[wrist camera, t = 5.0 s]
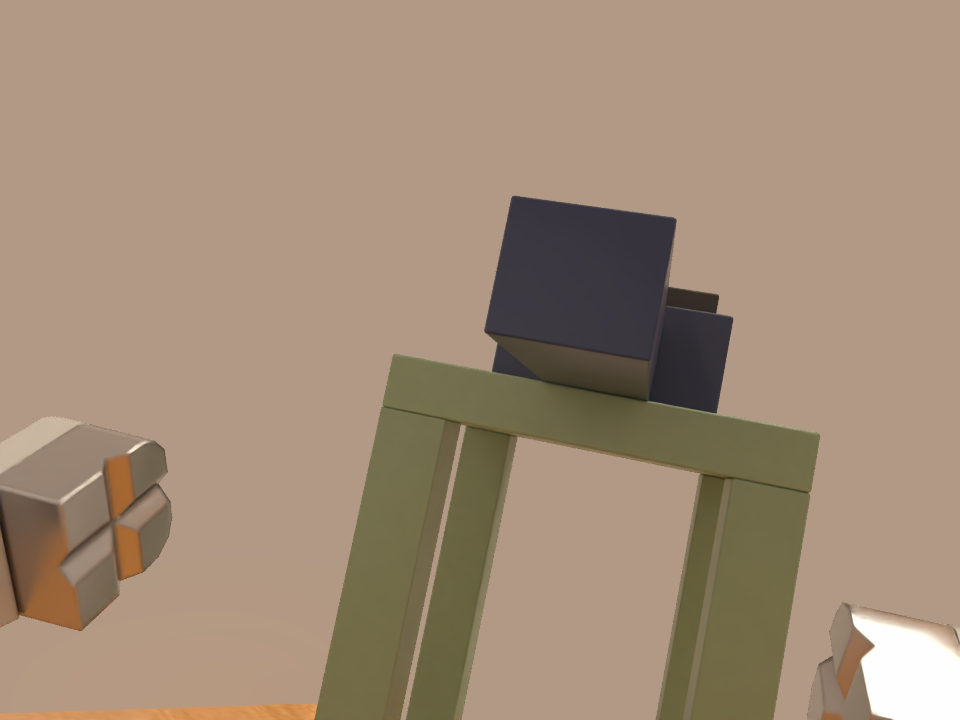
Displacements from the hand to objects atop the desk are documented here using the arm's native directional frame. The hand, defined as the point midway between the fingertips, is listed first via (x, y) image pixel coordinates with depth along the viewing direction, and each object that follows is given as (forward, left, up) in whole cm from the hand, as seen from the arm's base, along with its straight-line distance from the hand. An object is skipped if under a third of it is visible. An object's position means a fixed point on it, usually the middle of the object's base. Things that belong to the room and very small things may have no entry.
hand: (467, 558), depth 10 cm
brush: (-3, +14, +3) cm, 15 cm away
